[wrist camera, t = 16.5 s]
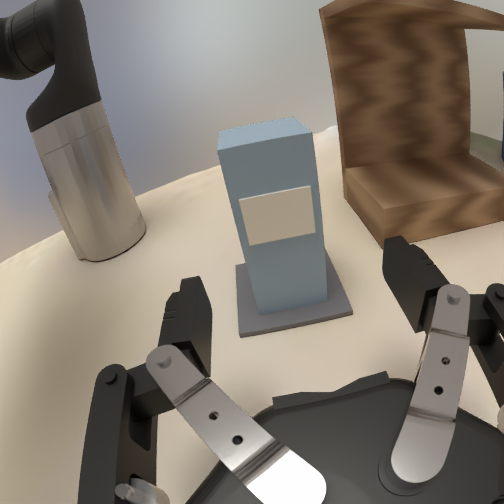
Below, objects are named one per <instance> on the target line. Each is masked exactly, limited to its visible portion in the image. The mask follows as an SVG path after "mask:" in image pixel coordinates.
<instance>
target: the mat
mask: <svg viewBox="0 0 504 504" xmlns="http://www.w3.org/2000/svg"><path fill="white" fill-rule="evenodd" d="M324 248H325V247H324ZM325 262H326V278H327V297H328V301H325V302H321V303H316V304H311V305H307V306H302V307H297V308H292V309H287V310H282V311H277V312H272V313H267V314H262V315H259V312H258V308H257V304H256V300H255V297H254V293H253V289H252V285H251V281H250V277H249V274H248V270H247V266H246V263H244V264H239V265H236V285H237V305H238V324H239V335H240V338H241V337H247V336H252V335H258V334H263V333H269V332H274V331H279V330H284V329H289V328H294V327H299V326H303V325H308V324H313V323H317V322H322V321H326V320H331V319H335V318H339V317H343V316H348V315H352V314H353V310H352V307H351V305H350V303H349V300H348V298H347V296H346V293H345V291H344V289H343V287H342V284H341V282H340V280H339V278H338V275H337V273H336V271H335V269H334V267H333V264H332V262H331V260H330V258H329V256H328V253H327V251H326V249H325Z"/></svg>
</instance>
